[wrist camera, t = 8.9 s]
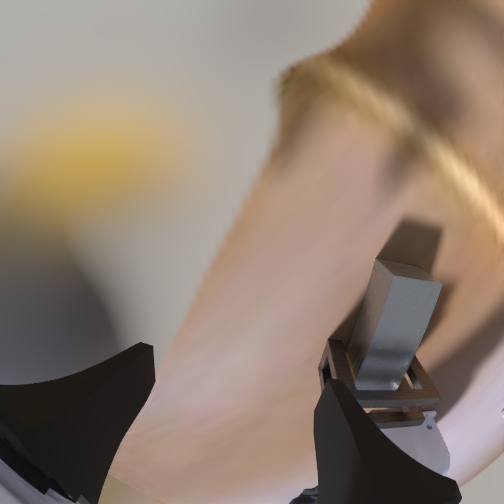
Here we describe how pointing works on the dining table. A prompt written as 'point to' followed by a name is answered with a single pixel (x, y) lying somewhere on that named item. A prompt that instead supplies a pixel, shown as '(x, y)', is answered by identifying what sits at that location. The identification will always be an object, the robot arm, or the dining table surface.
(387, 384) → the grey rectangular block
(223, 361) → the dining table surface
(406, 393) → the collar frame
